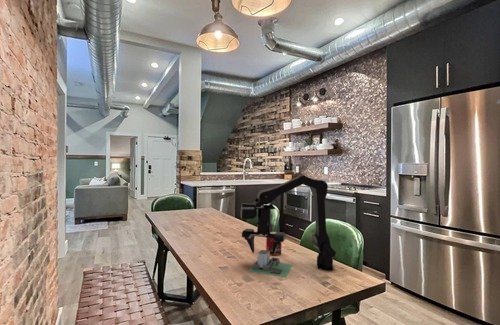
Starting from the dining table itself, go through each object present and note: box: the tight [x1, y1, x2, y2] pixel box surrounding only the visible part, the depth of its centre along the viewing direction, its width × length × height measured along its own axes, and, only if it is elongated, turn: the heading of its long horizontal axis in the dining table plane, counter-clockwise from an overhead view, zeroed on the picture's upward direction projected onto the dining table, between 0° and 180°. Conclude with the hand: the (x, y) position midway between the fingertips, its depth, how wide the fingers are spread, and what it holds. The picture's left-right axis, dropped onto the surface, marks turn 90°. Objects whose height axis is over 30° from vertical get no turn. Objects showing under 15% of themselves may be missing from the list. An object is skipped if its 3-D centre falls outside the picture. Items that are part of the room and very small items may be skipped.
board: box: [248, 256, 293, 278], centre depth 123 cm, size 16×15×3 cm
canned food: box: [265, 231, 282, 257], centre depth 142 cm, size 8×8×11 cm
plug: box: [256, 249, 271, 268], centre depth 123 cm, size 4×6×6 cm
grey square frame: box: [252, 259, 273, 272], centre depth 123 cm, size 7×8×2 cm
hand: (263, 254), depth 123 cm, fingers open, 9 cm apart
